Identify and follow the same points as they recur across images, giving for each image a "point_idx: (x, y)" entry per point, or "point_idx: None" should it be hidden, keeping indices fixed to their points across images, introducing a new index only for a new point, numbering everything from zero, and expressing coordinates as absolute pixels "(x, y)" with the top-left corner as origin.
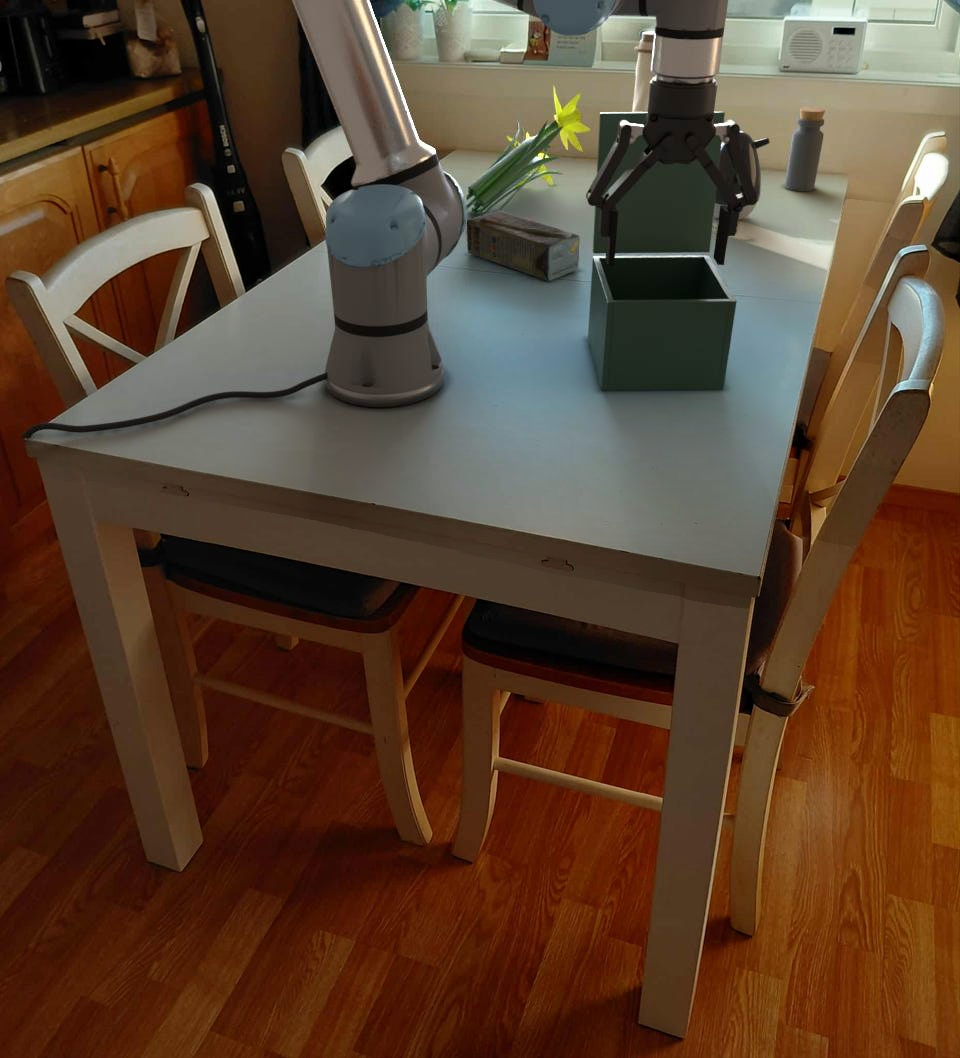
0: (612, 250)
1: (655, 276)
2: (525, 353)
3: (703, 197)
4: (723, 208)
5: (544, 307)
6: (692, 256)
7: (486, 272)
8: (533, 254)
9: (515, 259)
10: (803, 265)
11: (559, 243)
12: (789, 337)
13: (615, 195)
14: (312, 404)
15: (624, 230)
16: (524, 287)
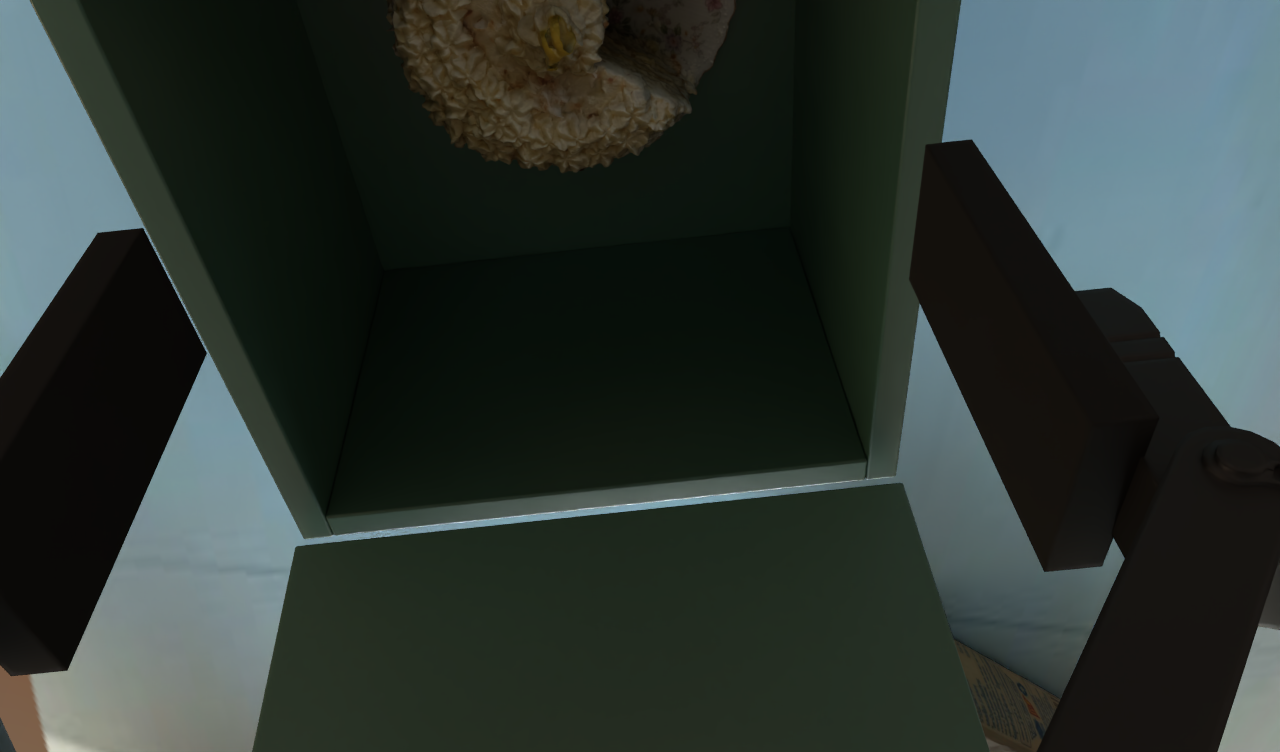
0: (984, 204)
1: (565, 421)
2: (1095, 69)
3: None
4: (7, 613)
5: (921, 442)
6: (384, 519)
7: (1046, 623)
8: None
9: (972, 667)
10: (100, 741)
11: None
12: (7, 308)
13: (1225, 569)
14: None
15: (766, 602)
16: (955, 555)
